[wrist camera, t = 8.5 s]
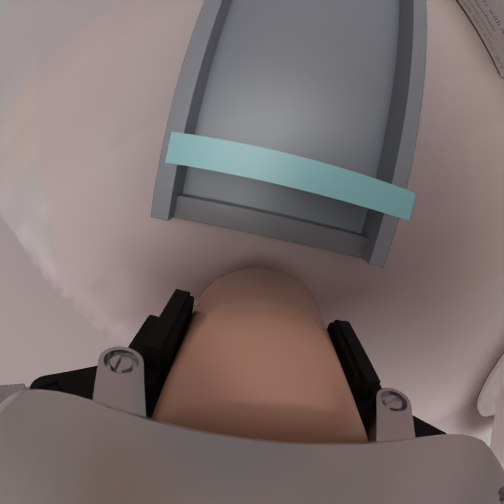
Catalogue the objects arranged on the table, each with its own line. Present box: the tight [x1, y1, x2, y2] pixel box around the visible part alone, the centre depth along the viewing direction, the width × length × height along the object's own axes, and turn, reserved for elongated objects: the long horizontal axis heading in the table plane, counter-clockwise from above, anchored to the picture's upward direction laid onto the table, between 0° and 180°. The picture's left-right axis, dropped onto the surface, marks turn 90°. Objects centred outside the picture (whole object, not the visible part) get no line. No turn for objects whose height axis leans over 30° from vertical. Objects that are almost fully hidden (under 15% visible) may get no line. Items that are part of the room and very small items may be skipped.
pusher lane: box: [151, 0, 427, 268], centre depth 11 cm, size 11×18×2 cm, turn 168°
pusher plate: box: [165, 132, 416, 221], centre depth 11 cm, size 8×1×4 cm, turn 78°
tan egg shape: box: [152, 268, 368, 443], centre depth 9 cm, size 6×6×7 cm
